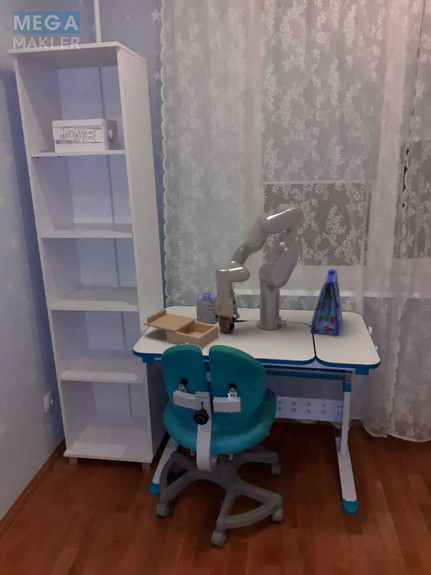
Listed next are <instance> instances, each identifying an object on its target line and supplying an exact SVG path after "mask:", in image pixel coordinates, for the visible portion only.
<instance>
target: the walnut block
mask: <svg viewBox="0 0 431 575" xmlns="http://www.w3.org/2000/svg"><path fill="white" fill-rule="evenodd" d="M230 323H231V322H230V319H229V317H224V316H223V317H222V318H220V319H219V321H218V326H219V325H220V326H219V331H220V332H221V333H231V332H232V331H230Z"/></svg>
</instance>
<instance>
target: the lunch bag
mask: <svg viewBox="0 0 431 575" xmlns="http://www.w3.org/2000/svg"><path fill="white" fill-rule="evenodd" d="M327 271H328V272H327V274H326V276H325V279H324V282H323V284H322V286H321V289H320V291H319V294H318V298H317V301H316V304H315V309H314V311H313V316H312V320H311V326H310V333H311V334H327V335H331V336H334V337H338V336H339V335H340V333H341V332H340V330H341V327H342V322H343V314H342V308H341V303H340V302H341V294H340V287H339V286H340V284H339V277H338V270H336V269H328V270H327Z"/></svg>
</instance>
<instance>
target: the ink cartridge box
mask: <svg viewBox="0 0 431 575" xmlns="http://www.w3.org/2000/svg"><path fill="white" fill-rule="evenodd" d="M215 299H216V297H211V293H207V292H204V293H203V296H198V298H197V299H196V301H195V303H196V304H195V305H196V307H195V308H196V321H197V322H202V323H206V324H216V322H217V321H218V319H217V318H216V317H215V315H214V314H213V313H212V312H213V311H214V310H215Z"/></svg>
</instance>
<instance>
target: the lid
mask: <svg viewBox="0 0 431 575" xmlns="http://www.w3.org/2000/svg"><path fill="white" fill-rule="evenodd" d="M194 321H197V318H194V317H189V316H183V315H179V314H174V313H170V312H167V309H166V308H165V309H161V310H159V311H158V312H156V313H153V314H151V315H150V316H148V317H147V318H146V321H145V322H143V326H147V327H150V328H155V329H159V330H165V331H166V330H167V331H172V332H177V331H178V330H180V329H182V328H184V327H185V326H187V325H189V324H190V323H192V322H194Z"/></svg>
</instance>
